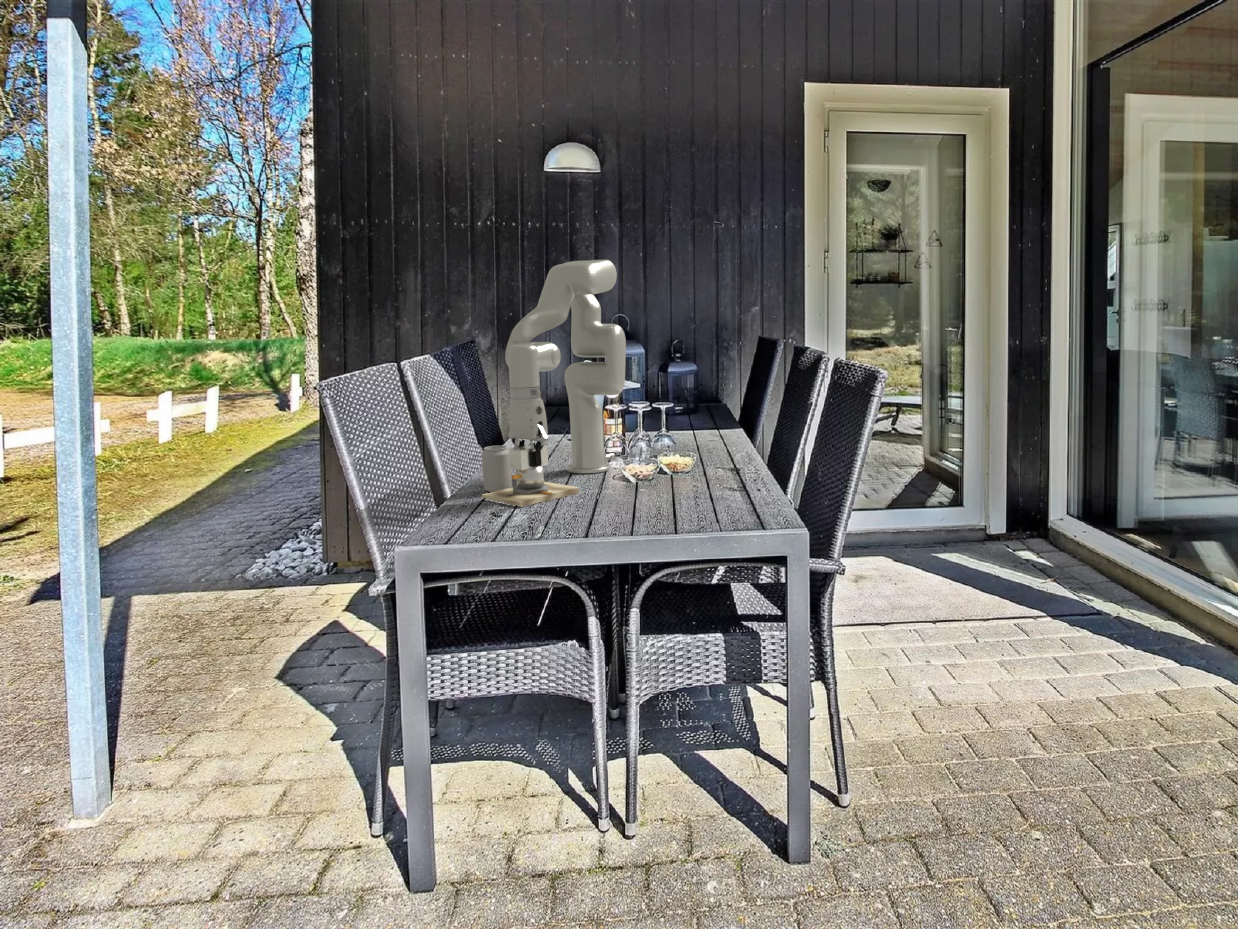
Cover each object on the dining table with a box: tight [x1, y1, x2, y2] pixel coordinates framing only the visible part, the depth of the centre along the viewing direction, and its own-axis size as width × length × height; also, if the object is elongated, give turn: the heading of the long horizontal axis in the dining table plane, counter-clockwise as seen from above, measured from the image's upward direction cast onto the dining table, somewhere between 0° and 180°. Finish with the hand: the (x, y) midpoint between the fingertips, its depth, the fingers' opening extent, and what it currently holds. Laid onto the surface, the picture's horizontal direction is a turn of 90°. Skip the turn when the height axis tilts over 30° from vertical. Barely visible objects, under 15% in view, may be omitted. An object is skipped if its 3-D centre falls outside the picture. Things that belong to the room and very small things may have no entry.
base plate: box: [481, 481, 580, 508], centre depth 224 cm, size 20×15×2 cm
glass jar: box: [508, 444, 549, 489], centre depth 222 cm, size 10×7×10 cm
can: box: [481, 445, 513, 493], centre depth 231 cm, size 8×8×12 cm
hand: (529, 464), depth 222 cm, fingers closed on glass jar, 4 cm apart
